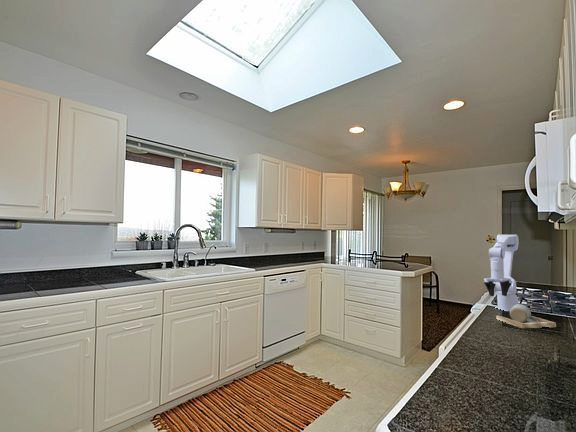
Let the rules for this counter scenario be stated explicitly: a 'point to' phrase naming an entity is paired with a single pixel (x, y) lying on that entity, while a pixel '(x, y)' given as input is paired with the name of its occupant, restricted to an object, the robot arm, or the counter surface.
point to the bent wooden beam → (540, 323)
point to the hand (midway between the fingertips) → (498, 295)
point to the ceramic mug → (522, 314)
